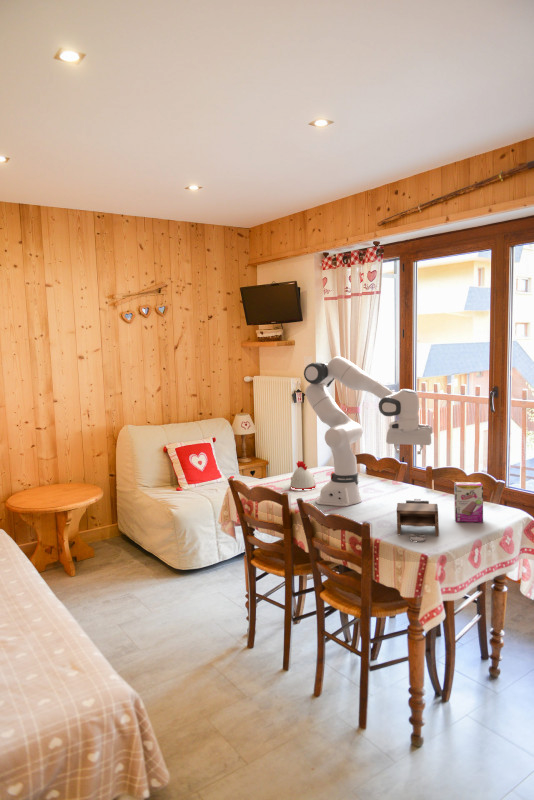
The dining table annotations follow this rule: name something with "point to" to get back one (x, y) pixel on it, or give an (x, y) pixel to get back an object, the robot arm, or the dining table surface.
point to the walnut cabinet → (417, 515)
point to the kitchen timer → (302, 478)
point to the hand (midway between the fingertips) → (408, 453)
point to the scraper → (417, 501)
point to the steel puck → (418, 537)
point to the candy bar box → (468, 501)
